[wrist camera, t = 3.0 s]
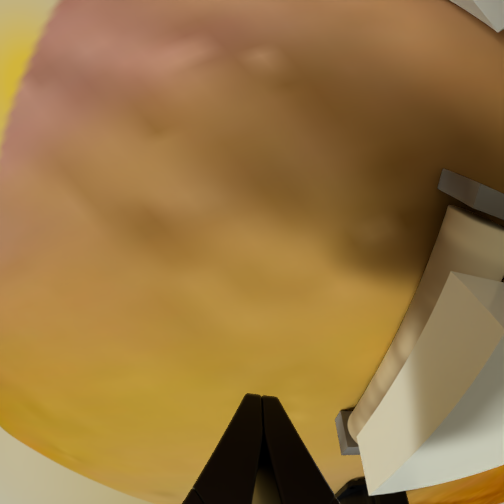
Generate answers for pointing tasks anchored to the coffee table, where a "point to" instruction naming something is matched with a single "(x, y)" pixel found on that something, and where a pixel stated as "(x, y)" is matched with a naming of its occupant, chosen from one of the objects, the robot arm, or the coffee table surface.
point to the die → (485, 11)
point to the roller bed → (436, 287)
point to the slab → (443, 396)
